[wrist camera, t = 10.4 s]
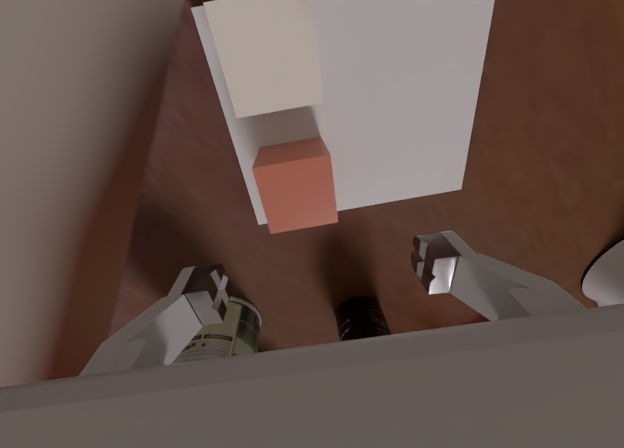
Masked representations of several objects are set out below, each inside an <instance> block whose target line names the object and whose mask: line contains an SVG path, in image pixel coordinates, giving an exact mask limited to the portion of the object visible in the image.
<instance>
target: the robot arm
mask: <svg viewBox="0 0 624 448" xmlns="http://www.w3.org/2000/svg"><path fill="white" fill-rule="evenodd" d="M413 246H414V247H415V249H414V250H413V252H412V253H411V262H412V266H413V269H414V271H415V273H416V274H417V275H418V276H420V277H422V279H421V283H422V284H423V286H424V288H425V289H426V291H427V293H428V294H437V293H446V292H450V293H451V294H452V295H454V296H455V297H457V298H458V299H460V300H461V301H463V302H464V303H466V304H467V305H469V306H470V307H472V308H473V309H475V310H476V311H477V312H479V313H480V314H482V315H483V316H485V317H486V318H488V319H489V320H491V321H489V322H482V323H474V324H467V325H460V326H452V327H445V328H437V329H430V330H422V331H415V332H407V333H400V334H392V335H385V336H377V337H370V338H362V339H355V340H347V341H340V342H332V343H325V344H318V345H310V346H303V347H295V348H288V349H280V350H273V351H265V352H258V353H250V354H243V355H236V356H228V357H221V358H213V359H206V360H198V361H191V362H183V363H176V364H171V363H172V362H173V361H174V360H175V359H176V357H177V356H178V355H179V354H180V353H181V351H182V350H183V349H184V348H185V347H186V346H187V344H188V343H189V342H190V341H191V340H192V339H193V337H194V336H195V335H196V334H197V333H198V331H199V330H200V329H201V328H202V326H204V325H210V324H216V323H222V322H223V321H224V317H225V314H226V310H227V308H226V305H225V304H226V303H227V302H228V301H229V300H230V296H231V285H230V281H229V279H228V278H227V277H226V276H224V272H225V269H224V267H223V265H222V264H220V263H218V264H210V265H201V266H194V267H186V268H184V269H182V271H181V273H180V274H179V276H178V278H177V280H176V281H175V283H174V285H173V287H172V288H171V290H170V292H169V294H168V295H167V297H163V298H161V299H160V300H159V301H158V302H156V303H155V304H154V305H152V306H151V307H150V308H148V309H147V310H146V311H144V312H143V313H142V314H140V315H139V316H138V317H136V318H135V319H134V320H132V321H131V322H130V323H128V324H127V325H126V326H124V327H123V328H122V329H120V330H119V331H118V332H116V333H115V334H114V335H112V336H111V337H110V338H108V339H107V340H106V341H104V342H103V343H102V344H101V346H100V347H99V348H98V350H97V351H96V353H95V354H94V355H93V357H92V358H91V360H90V361H89V362H88V364H87V365H86V367H85V368H84V369H83V371H82V372H81V374H80V375H79V377H72V378H64V379H57V380H50V381H43V382H34V383H28V384H20V385H12V386H5V387H0V448H624V240H622V241H621V242H619V243H618V244H616V245H615V246H613V247H612V248H611V249H609V250H608V251H607V252H606V253H605V254H603V255H602V256H601V257H600V258H599V259H598V260H597V261H596V262H595V263H594V264H593V266H592V267H591V268H590V269H589V271H588V272H587V274H586V276H585V278H584V280H583V284H582V290H583V293H584V294H585V295H586V296H587V297H588V298H590V299H592V300H594V301H596V302H597V304H598V306H599V307H594V308H586V307H584V306H583V305H582V304H581V303H579V302H578V301H577V300H576V299H574V298H573V297H572V296H571V295H570V294H568V293H567V292H566V291H565V290H563V289H562V288H561V287H560V286H558V285H557V284H556V283H555V282H552V281H550V280H547V279H545V278H542V277H539V276H537V275H534V274H532V273H529V272H527V271H524V270H521V269H519V268H516V267H514V266H511V265H509V264H506V263H503V262H501V261H498V260H496V259H493V258H491V257H488V256H485V255H483V254H476V253H475V252H474V251H473V250H472V249H471V248H470V247H469V246H468V245H467V244H466V243H465V242H464V241H463V240H462V239H461V238H460V237H459V236H458V235H457V234H456V233H455V232H454V231H445V232H439V233H435V234H428V235H421V236H415V237H414V239H413Z"/></svg>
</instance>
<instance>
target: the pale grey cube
mask: <svg viewBox="0 0 624 448" xmlns="http://www.w3.org/2000/svg"><path fill="white" fill-rule="evenodd" d="M203 4H204V8H205V11H206V15H207V18H208V21H209V25H210V28H211V32H212V35H213V39H214V42H215V46H216V49H217V52H218V56H219V59H220V63H221V66H222V70H223V73H224V76H225V80H226V83H227V87H228V90H229V94H230V97H231V101H232V104H233V107H234V111H235V114H236V118H242V117H248V116H253V115H259V114H264V113H270V112H276V111H281V110H287V109H292V108H298V107H304V106H309V105H315V104H320V103H324V98H323V89H322V81H321V72H320V63H319V54H318V46H317V37H316V28H315V20H314V11H313V2H312V0H215V1H209V2H204V3H203Z"/></svg>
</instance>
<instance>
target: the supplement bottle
mask: <svg viewBox="0 0 624 448" xmlns="http://www.w3.org/2000/svg"><path fill="white" fill-rule="evenodd" d="M336 322H337V327H338V333H339V338H340V341H347V340H355V339H362V338H370V337H377V336H385V335H392V334H391V332H390V329H389V327H388V324H387V321H386V319H385V316H384V314H383V311H382V309H381V307H380V305H379V304H378V303H377V302H376V301H375V300H373V299H371V298H367V297H357V298H352V299H350V300H347V301H346V302H344V303H343V304H342V305H341V306H340V307H339V308H338V310H337V312H336Z"/></svg>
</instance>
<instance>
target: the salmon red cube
mask: <svg viewBox="0 0 624 448" xmlns="http://www.w3.org/2000/svg"><path fill="white" fill-rule="evenodd" d="M252 171H253V174H254V178H255V181H256V185H257V188H258V192H259V195H260V199H261V202H262V205H263V209H264V212H265V216H266V219H267V223H268V226H269V230H270V233H271V234H273V233H279V232H285V231H290V230H296V229H302V228H308V227H313V226H319V225H325V224H331V223H336V222H338V216H337V207H336V198H335V189H334V181H333V172H332V163H331V154H330V152H329V151H328V149H327V147H326V145H325V143H324V141H323V140H322V138H321V137H315V138H310V139H304V140H298V141H293V142H287V143H281V144H276V145H270V146H265V147H260V149H259V151H258V154H257V156H256V159H255V161H254V164H253V166H252Z"/></svg>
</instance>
